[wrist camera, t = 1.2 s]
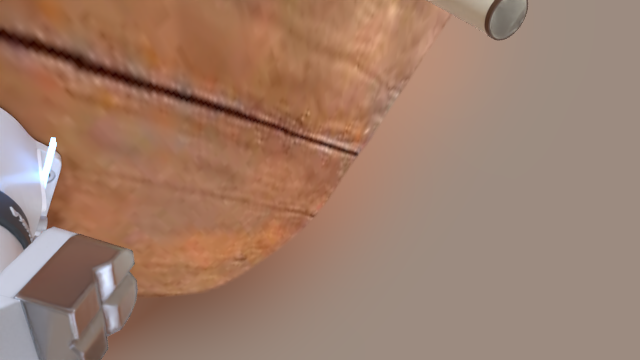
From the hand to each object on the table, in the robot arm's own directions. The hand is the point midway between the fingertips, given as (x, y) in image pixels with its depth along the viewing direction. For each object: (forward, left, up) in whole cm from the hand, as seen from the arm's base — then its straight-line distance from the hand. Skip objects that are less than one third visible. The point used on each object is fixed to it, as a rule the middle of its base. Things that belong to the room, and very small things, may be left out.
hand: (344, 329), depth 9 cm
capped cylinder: (0, -36, -43) cm, 56 cm away
